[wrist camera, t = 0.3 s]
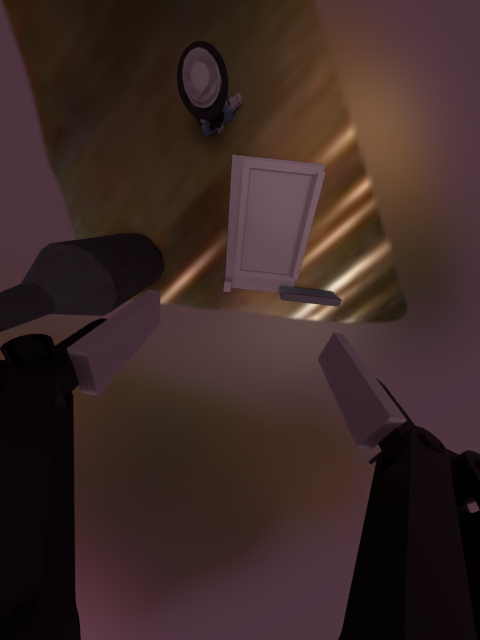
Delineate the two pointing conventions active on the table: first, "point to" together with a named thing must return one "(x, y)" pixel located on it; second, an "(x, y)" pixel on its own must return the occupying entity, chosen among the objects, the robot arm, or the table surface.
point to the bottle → (82, 278)
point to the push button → (206, 87)
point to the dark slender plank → (309, 296)
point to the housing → (269, 221)
